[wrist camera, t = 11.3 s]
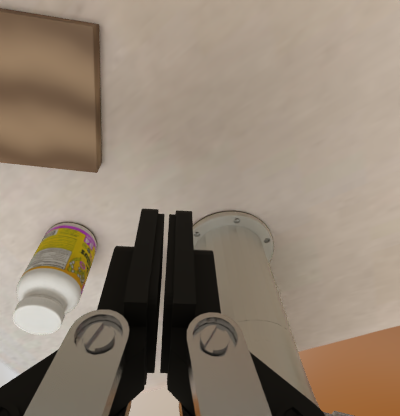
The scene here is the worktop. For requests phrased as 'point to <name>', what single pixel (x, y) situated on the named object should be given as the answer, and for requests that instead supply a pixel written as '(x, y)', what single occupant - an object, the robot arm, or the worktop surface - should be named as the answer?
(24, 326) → the supplement bottle
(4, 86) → the brown wooden flat block
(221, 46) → the worktop surface
